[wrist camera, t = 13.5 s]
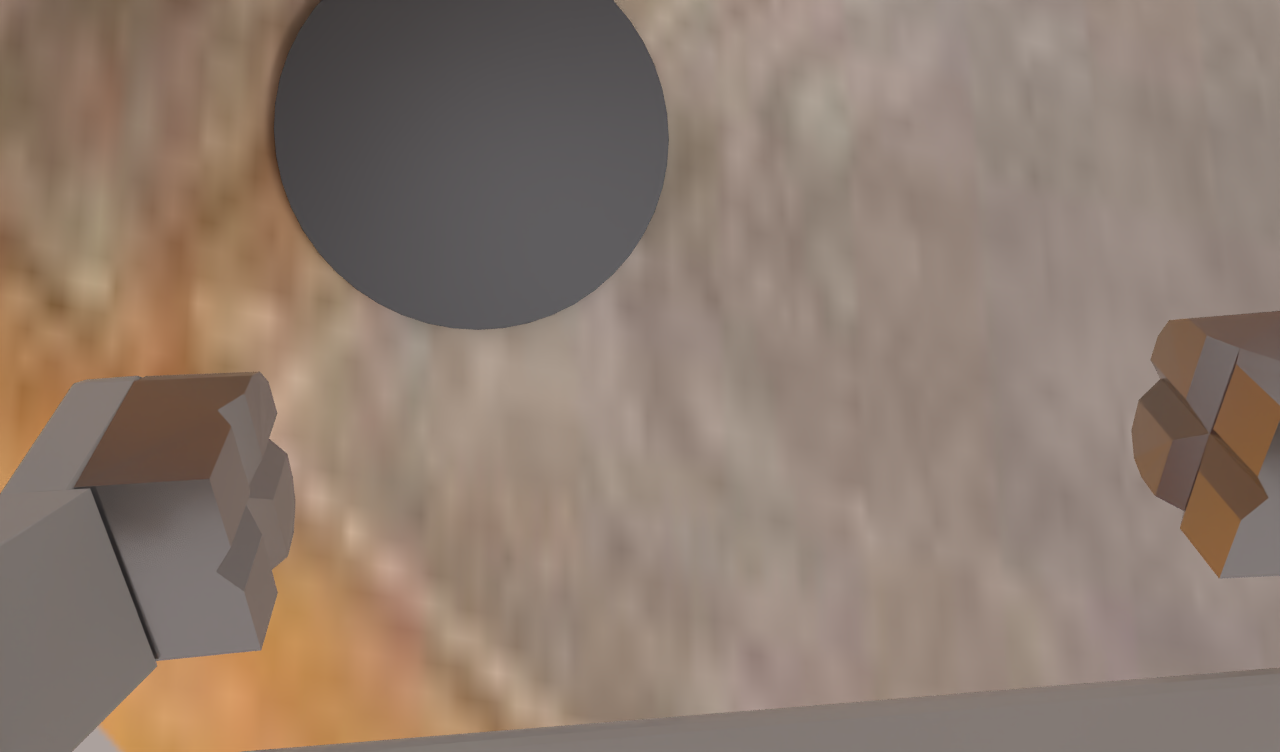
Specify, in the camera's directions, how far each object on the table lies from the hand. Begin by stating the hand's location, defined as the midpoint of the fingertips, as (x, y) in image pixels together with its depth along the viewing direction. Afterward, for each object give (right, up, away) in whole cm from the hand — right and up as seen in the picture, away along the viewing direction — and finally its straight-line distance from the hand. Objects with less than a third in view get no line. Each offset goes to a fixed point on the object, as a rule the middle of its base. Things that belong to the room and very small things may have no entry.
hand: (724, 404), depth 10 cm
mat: (-6, +8, +26) cm, 28 cm away
